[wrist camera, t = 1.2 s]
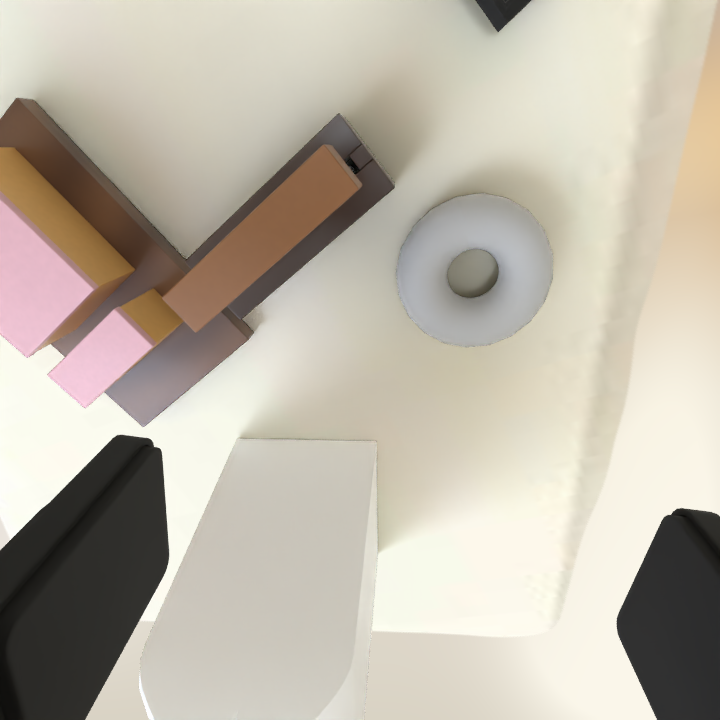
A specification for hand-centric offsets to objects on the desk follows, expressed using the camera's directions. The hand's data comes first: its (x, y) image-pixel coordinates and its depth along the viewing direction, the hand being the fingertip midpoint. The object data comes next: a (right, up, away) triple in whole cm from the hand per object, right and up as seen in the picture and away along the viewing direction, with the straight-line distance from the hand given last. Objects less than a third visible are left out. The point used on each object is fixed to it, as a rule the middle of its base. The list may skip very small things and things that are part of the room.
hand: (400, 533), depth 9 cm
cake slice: (-17, +5, +26) cm, 31 cm away
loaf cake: (-22, +11, +23) cm, 34 cm away
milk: (-5, -9, +33) cm, 34 cm away
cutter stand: (-5, +13, +23) cm, 27 cm away
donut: (+7, +10, +24) cm, 27 cm away
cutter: (-5, +13, +23) cm, 27 cm away
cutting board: (-20, +9, +26) cm, 34 cm away
